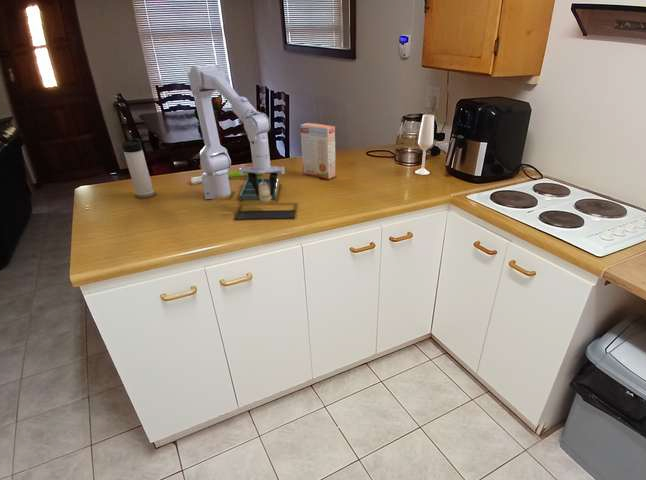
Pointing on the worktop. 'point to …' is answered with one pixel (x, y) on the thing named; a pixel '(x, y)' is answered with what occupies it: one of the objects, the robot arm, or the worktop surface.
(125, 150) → the travel mug
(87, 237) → the worktop surface
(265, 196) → the egg
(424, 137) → the champagne flute
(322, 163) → the cracker box
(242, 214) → the mat
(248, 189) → the teal compartment tray
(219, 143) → the robot arm
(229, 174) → the celery
